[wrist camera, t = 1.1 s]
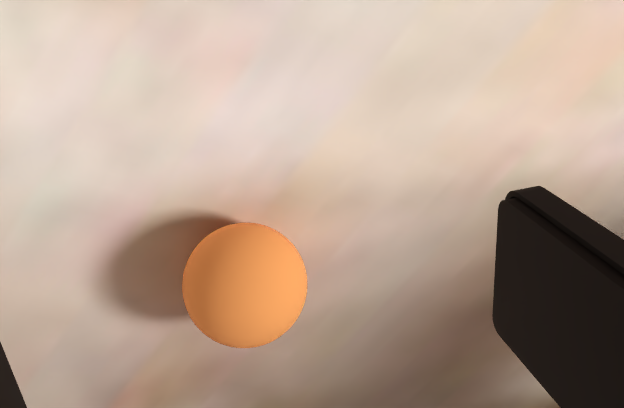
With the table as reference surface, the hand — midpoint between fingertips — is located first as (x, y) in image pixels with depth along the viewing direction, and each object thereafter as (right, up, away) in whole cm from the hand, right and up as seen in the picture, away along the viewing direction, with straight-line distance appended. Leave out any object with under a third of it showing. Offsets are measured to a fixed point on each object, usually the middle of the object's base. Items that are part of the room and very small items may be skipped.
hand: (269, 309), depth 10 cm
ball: (-2, -2, +18) cm, 18 cm away
